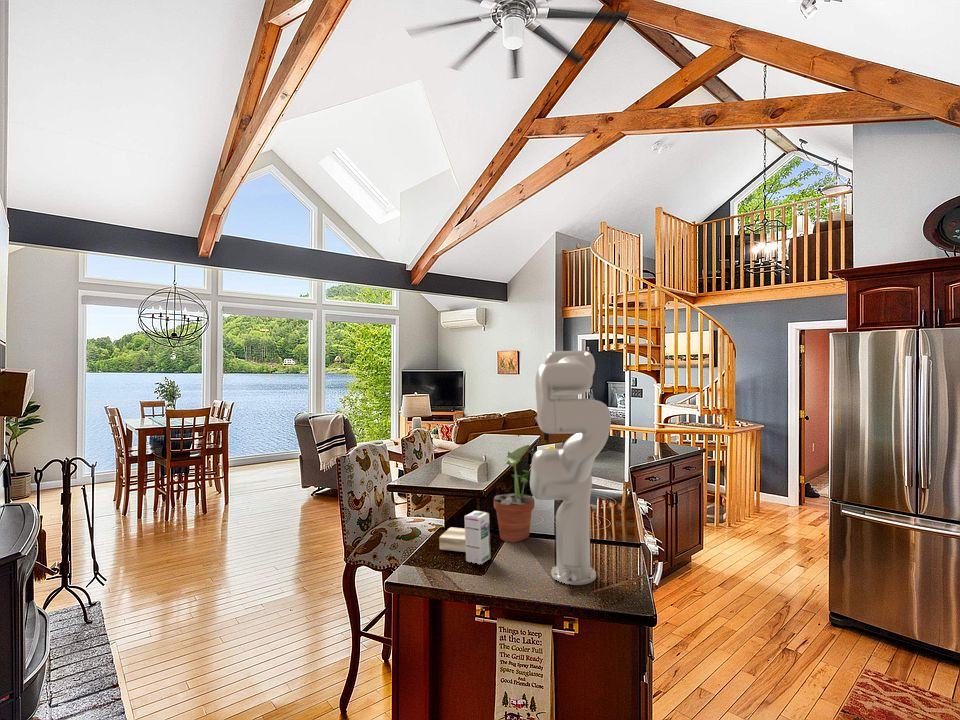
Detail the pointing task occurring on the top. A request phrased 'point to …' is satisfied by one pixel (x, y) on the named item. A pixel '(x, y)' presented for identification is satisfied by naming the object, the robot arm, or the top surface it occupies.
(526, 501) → the potted plant
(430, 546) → the top surface
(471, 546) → the syrup box
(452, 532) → the birch block
